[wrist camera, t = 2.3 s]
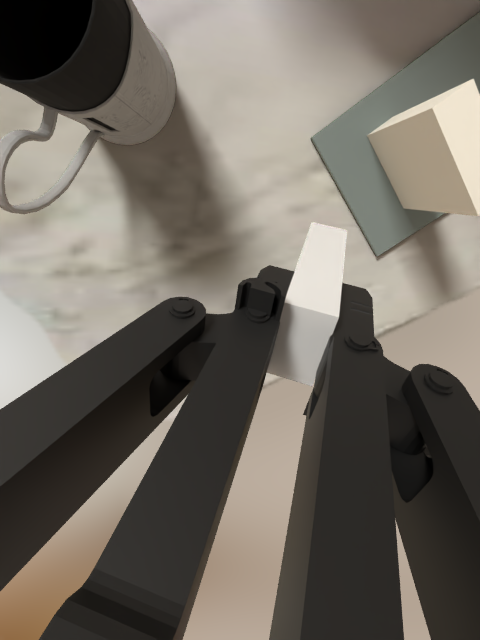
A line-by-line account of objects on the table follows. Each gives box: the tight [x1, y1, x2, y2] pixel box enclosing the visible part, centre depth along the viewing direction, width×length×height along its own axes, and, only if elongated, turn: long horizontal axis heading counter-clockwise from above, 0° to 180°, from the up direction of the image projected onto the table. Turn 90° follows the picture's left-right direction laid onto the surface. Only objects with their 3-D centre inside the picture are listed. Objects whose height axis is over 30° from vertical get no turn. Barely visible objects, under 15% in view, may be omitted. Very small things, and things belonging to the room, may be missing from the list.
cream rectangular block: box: [367, 79, 480, 216], centre depth 24 cm, size 3×7×10 cm, turn 35°
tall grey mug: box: [0, 0, 176, 214], centre depth 21 cm, size 9×14×15 cm, turn 159°
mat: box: [311, 12, 480, 256], centre depth 28 cm, size 20×12×1 cm, turn 125°
